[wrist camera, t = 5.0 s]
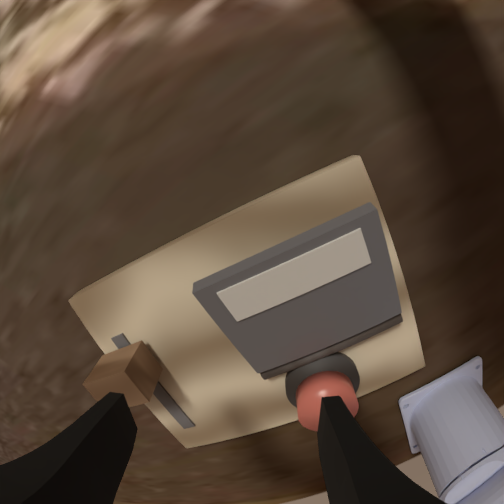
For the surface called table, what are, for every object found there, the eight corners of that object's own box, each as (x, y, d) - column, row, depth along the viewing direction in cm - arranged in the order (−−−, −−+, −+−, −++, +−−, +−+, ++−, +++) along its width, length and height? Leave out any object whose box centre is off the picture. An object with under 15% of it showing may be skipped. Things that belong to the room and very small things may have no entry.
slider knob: (163, 368, 19) (149, 402, 16) (122, 381, 20) (106, 412, 17) (141, 340, 19) (124, 371, 16) (102, 355, 19) (82, 384, 16)
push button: (358, 398, 19) (364, 418, 17) (307, 418, 19) (310, 438, 18) (342, 362, 18) (349, 381, 16) (286, 384, 18) (288, 404, 17)
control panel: (417, 354, 21) (430, 374, 18) (189, 435, 24) (184, 457, 22) (352, 155, 17) (365, 156, 14) (78, 291, 20) (60, 307, 18)
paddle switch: (396, 303, 17) (402, 313, 17) (256, 363, 19) (257, 375, 18) (370, 201, 14) (377, 209, 13) (193, 282, 15) (192, 294, 15)
